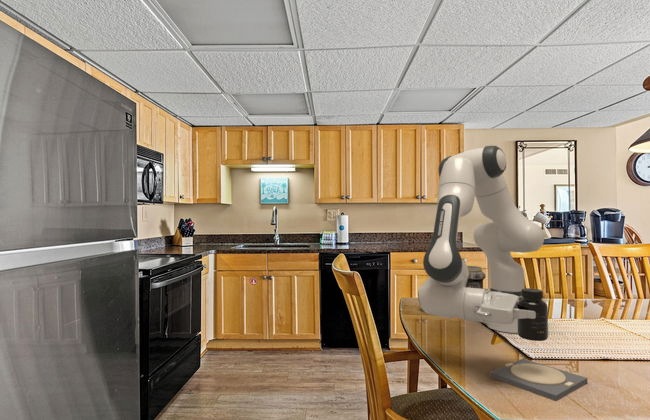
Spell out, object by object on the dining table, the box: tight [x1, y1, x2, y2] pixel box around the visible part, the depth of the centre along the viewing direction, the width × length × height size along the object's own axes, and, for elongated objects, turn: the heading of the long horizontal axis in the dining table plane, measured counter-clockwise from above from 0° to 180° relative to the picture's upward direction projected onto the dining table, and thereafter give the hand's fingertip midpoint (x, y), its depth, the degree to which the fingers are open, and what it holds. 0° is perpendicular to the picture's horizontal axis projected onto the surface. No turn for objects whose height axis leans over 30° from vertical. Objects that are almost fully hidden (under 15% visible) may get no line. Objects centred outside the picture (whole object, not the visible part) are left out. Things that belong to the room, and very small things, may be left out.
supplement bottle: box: [517, 288, 549, 342], centre depth 98 cm, size 7×7×12 cm
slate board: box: [489, 358, 588, 402], centre depth 97 cm, size 16×16×2 cm
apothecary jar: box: [466, 265, 486, 289], centre depth 177 cm, size 12×12×18 cm
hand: (536, 311), depth 97 cm, fingers closed on supplement bottle, 7 cm apart
